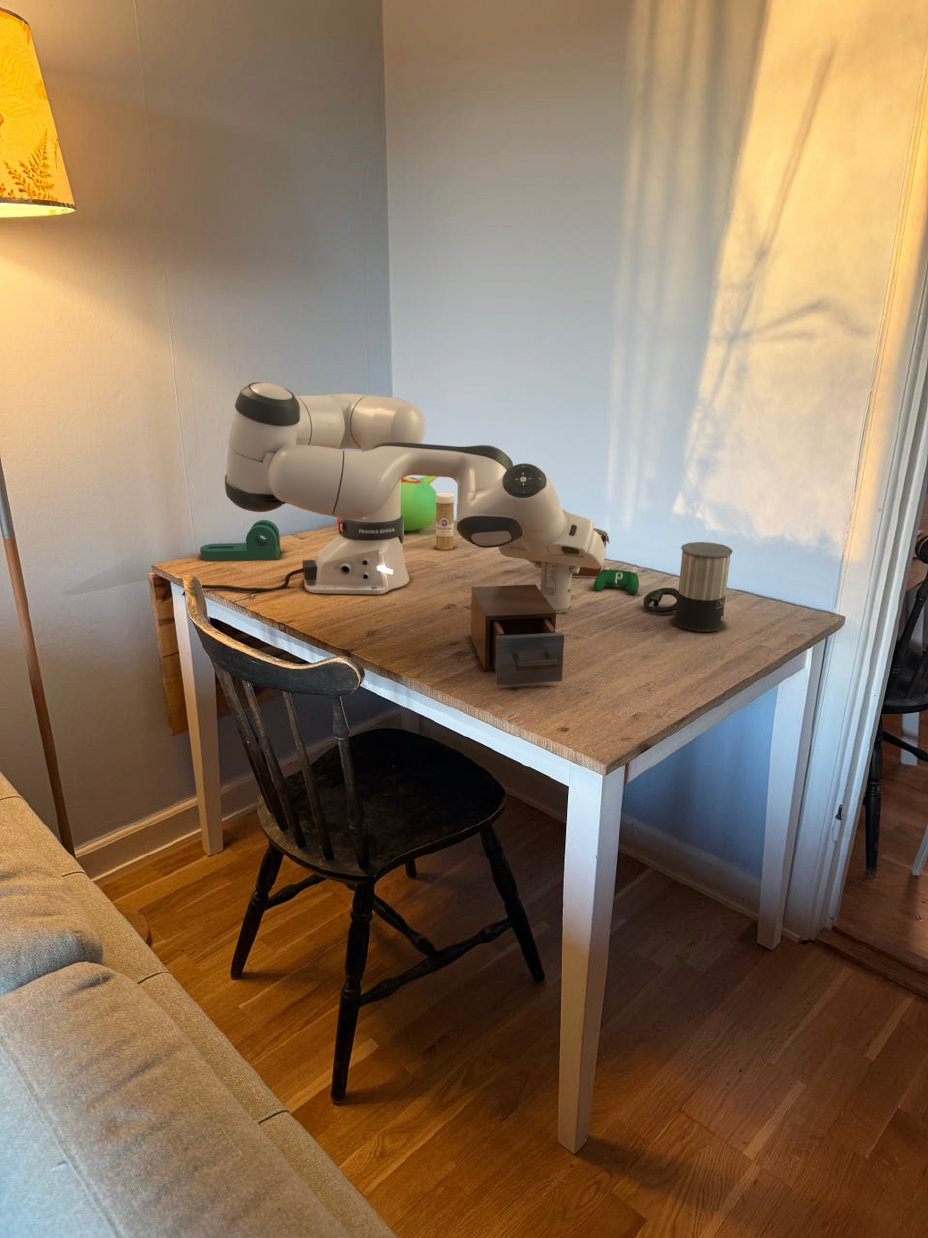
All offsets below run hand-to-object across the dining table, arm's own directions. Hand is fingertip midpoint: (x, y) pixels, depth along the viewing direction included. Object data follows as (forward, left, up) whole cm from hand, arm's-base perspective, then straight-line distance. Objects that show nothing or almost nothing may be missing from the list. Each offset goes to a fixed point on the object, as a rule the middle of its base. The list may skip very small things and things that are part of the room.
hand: (558, 567), depth 160 cm
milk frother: (+23, -9, -9) cm, 26 cm away
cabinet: (-13, -21, -8) cm, 26 cm away
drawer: (-13, -31, -7) cm, 34 cm away
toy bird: (-24, +64, -9) cm, 69 cm away
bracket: (-65, +44, -9) cm, 79 cm away
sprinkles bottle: (-16, +45, -9) cm, 49 cm away
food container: (+11, +21, -9) cm, 25 cm away
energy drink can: (0, -1, -9) cm, 9 cm away
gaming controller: (+16, +9, -9) cm, 20 cm away
